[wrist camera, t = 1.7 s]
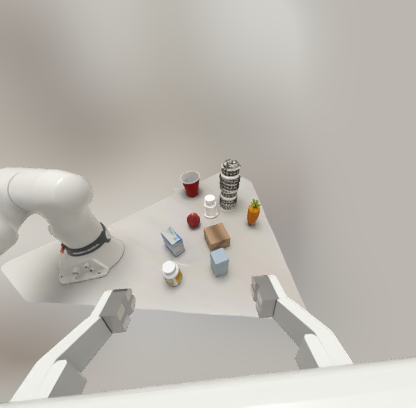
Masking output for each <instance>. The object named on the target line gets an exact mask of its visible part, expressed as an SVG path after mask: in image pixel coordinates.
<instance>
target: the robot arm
mask: <svg viewBox="0 0 416 408" xmlns="http://www.w3.org/2000/svg"><path fill="white" fill-rule="evenodd" d="M92 197H93V191H92V187H91V185H90V183H89V182H88V181H87V180H86V179H85V178H84V177H82V176H79V175H77V174H74V173H70V172H67V171H63V170H53V169H38V168H19V167H9V168H3V169H0V256H1V255H2V254H4V253H5V252H6V251H7V250H8V249H9V248H11V247H12V246H13V245H14V244H15V243H16V242H17V240H18V229H19V227H20V226H21V225H22V223H23V222H24V221H25V220H26V219H27V218H28V217H29V216H30V215H32V214H34V213H36V214H39V215H41V216H42V217H44V218H45V219H46V220H47V222H48V223H49V226H48V230H49V232H50V234H51V235H53V236H54V237H55V238H57V239H58V240H59V241H61V242H62V244H61V246H62V248H61V251H60V253H61V252H62V254H61V256H60V259H59V264H58V267H59V281H60V283H61V284H63V285H64V284H70V283H75V282H80V281H85V280H90V279H95V278H100V277H104V276H105V275H106V274H107V273H108V272H109V270H110V269H111V267H112V266H114V265H115V264H116V263H117V262H118V261H119V259H120V258H121V256H122V254H123V252H124V245H123V243H122V242H121V241H120V240H118V239H116V238H114V237H113V236H112V235H111V234H110V232H109V231H108V230H107V229H106V227H105V226H104V225H103V224H102V223H100V222H99V221H98V220H97V219H96V218H95V217H94V215H93V214H92V212H91V211H90V209H89V207H88V205H89V204H90V203H91V200H92ZM251 293H252V297H253V300H254V301H255V302H256V309H257V312H258V315H259V318H268V317H273V319H274V320H275V321H276V322H277V323H278V324H279V325H280V326H281V328H282V329H283V330H284V331H285V332H286V333H287V334H288V335H289V336H290V338H291V339H292V340H293V341H294V342H295V343H296V344H297V345H298V346H299V350H298V352H297V354H296V357H295V360H296V362H297V364H298V367H299V369H300V370H291V371H282V372H273V373H265V374H255V375H247V376H238V377H229V378H220V379H211V380H202V381H193V382H184V383H175V384H166V385H157V386H149V387H140V388H131V389H122V390H113V391H104V392H95V393H86V394H82V391H83V389H84V387H85V385H86V382H87V380H86V378H85V377H84V376H83V375H82V374H81V372H82V371H83V370H84V368H85V367H86V366H87V365H88V363H89V362H90V361H91V360H92V358H93V357H94V356H95V355H96V354H97V352H98V351H99V350H100V349H101V347H102V346H103V345H104V343H105V342H106V341H107V340H108V339H109V338H110V336H111V335H112V333H120V332H126V330H127V328H128V325H129V322H130V315H131V313H132V312H133V311H134V308H135V302H136V301H135V297H134V295H132V290H131V288H129V289H116V290H106V291H105V292H104V293H103V295H102V297H101V298H100V300H99V302H98V303H97V305H96V307H95V309H94V310H93V312H92V314H91V315H90V317H89V318H86V319H85V320H84V321H83V322H82V323H81V324H80V325H78V326H77V327H76V328H75V329H74V330H73V331H72V332H70V333H69V334H68V335H67V336H66V337H65V338H64V339H62V340H61V341H60V342H59V343H58V344H57V345H56V346H54V347H53V348H52V349H51V350H50V351H49V352H48V353H46V354H45V355H44V356H43V357H42V358H41V359H40V360H38V361H37V363H36V364H35V366H34V367H33V368H32V370H31V371H30V373H29V374H28V376H27V377H26V379H25V380H24V381H23V383H22V384H21V386H20V387H19V389H18V390H17V391H16V393H15V394H14V396H13V397H12V399H11V400H10V401H9V402H6V403H0V408H416V356H415V357H407V358H399V359H390V360H381V361H372V362H363V363H354V364H353V362H352V361H351V359H350V358H349V356H348V355H347V353H346V352H345V350H344V349H343V347H342V346H341V344H340V343H339V341H338V340H337V339H336V337H335V335H334V334H333V332H332V331H331V330H330V329H328V328H327V327H326V326H324V324H322V323H321V322H320V321H318V320H317V319H316V318H315V317H313V316H312V315H311V314H310V313H308V312H307V311H306V310H304V309H303V308H302V307H301V306H299V305H298V304H297V303H296V302H294V301H293V300H292V299H291V298H287V296H286V294H285V292H284V290H283V288H282V286H281V285H280V283H279V281H278V279H277V277H276V276H275V275H264V276H255V277H252V284H251Z"/></svg>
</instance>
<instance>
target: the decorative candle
mask: <svg viewBox="0 0 416 408" xmlns="http://www.w3.org/2000/svg"><path fill="white" fill-rule="evenodd" d="M221 167H222V171H221V174H220V176H219V177H220V189H221V194H220V208H221V209H222V210H223V211H227V212H230V211H233V210H234V209H235V208H236V202H237V191H238V188H239V182H240V175H239V173H240V172H239V169H240V164H239V163H238V162H237V161H236V160H232V159H229V160H226V161H225V162H223V163H222V164H221ZM238 180H239V181H238Z"/></svg>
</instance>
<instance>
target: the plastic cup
mask: <svg viewBox="0 0 416 408" xmlns="http://www.w3.org/2000/svg"><path fill="white" fill-rule="evenodd" d="M199 178H200V174H199V173H198V172H196V171H188V172H185V173H183V174H182V175H181V176H180V180H181V182H182V183H183V185H184V187H185V189H186V191H187V194H188V196H190V197H194V196H196V195H197V194H198V186H199Z"/></svg>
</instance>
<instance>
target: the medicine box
mask: <svg viewBox="0 0 416 408" xmlns="http://www.w3.org/2000/svg"><path fill="white" fill-rule="evenodd" d="M161 235H162V237H163V240H164V242H165V245H166V246H167V247H168V248H169V249H170V250H171V252H172V253H173V254H174V255H175V256H176V257H177V256H178V255H179V254H181V253H182V252H183V251H184V250H185V249H184V245H183V241H182V239H181V238H180V237H179V236H178V235H177V234H176V233H175V232H174V231H173V230H172V228H171V227H169V228H168V229H166V230H165V231H163V232H162V233H161Z"/></svg>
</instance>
